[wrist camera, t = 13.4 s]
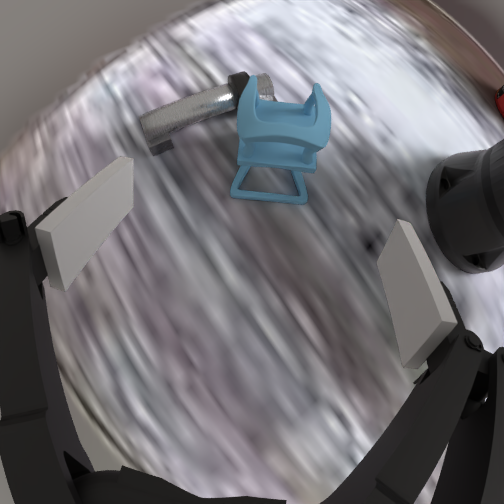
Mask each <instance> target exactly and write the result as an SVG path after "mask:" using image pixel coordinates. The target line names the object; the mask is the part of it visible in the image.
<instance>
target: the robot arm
mask: <svg viewBox="0 0 504 504" xmlns="http://www.w3.org/2000/svg"><path fill="white" fill-rule="evenodd" d="M133 162H134V158H127V157H121V156H120V157H119V158H117V159H116V160H115V161H113V162H112V163H111V164H109V165H108V166H107V167H105V168H104V169H103V170H101V171H100V172H99V173H98V174H96V175H95V176H94V177H93V178H91V179H90V180H89V181H88V182H86V183H85V184H84V185H83V186H81V187H80V188H79V189H78V190H77V191H75V192H74V193H73V194H72V195H71V196H69V197H65V198H63V199H61V200H59V201H57V202H55V203H54V204H53V205H52V206H51V207H49V209H47V210H46V211H45V212H44V213H43V215H40V216H39V217H38V218H37V219H36V220H35V221H34V222H33V223H32V224H31V225H30V226H29V227H27V226H26V222H25V217H24V214H23V213H22V212H21V211H16V210H15V211H9V212H6V213H4V214H2V215H0V408H1V416H2V417H1V420H0V456H1V460H2V463H3V467H4V471H5V475H6V478H7V482H8V485H9V488H10V491H11V494H12V497H13V500H14V503H15V504H286V500H277V499H267V498H258V497H250V496H241V497H226V498H201V497H198V496H195V495H193V494H191V493H189V492H187V491H185V490H183V489H181V488H179V487H177V486H175V485H173V484H171V483H169V482H168V481H166V480H164V479H162V478H159V477H156V476H153V475H149V474H146V473H143V472H140V471H137V470H134V469H131V468H128V467H125V466H122V467H121V470H120V471H116V470H115V471H114V470H105V471H97V472H95V471H94V468H93V466H92V464H91V462H90V460H89V458H88V456H87V454H86V452H85V450H84V449H83V447H82V445H81V443H80V441H79V438H78V435H77V432H76V430H75V426H74V424H73V420H72V417H71V414H70V411H69V408H68V404H67V401H66V397H65V394H64V390H63V386H62V383H61V379H60V375H59V370H58V366H57V362H56V357H55V352H54V348H53V343H52V337H51V332H50V326H49V320H48V313H47V306H46V299H45V290H44V286H43V283H42V281H43V280H44V279H45V278H46V276H48V279H49V282H50V286H51V287H53V288H56V289H59V290H61V291H64V292H66V291H67V289H68V288H69V287H70V285H71V284H72V282H73V281H74V280H75V278H76V277H77V276H78V274H79V273H80V272H81V270H82V269H83V268H84V266H85V265H86V264H87V263H88V261H89V260H90V259H91V257H92V256H93V255H94V254H95V252H96V251H97V250H98V249H99V247H100V246H101V245H102V244H103V242H104V241H105V240H106V239H107V237H108V236H109V235H110V234H111V233H112V231H113V230H114V229H115V228H116V227H117V225H118V224H119V223H120V222H121V221H122V220H123V218H124V217H125V216H126V215H127V214H128V213H129V211H130V210H131V209H132V208H133ZM426 205H427V214H428V219H429V223H430V226H431V229H432V232H433V235H434V237H435V239H436V241H437V243H438V245H439V247H440V249H441V250H442V252H443V253H444V254H445V256H446V257H447V258H448V259H449V260H450V261H451V262H452V263H453V264H454V265H455V266H456V267H458V268H459V269H461V270H463V271H465V272H468V273H484V272H490V271H493V270H495V269H497V268H499V267H501V266H502V265H503V264H504V139H503V140H502V141H500V142H498V143H497V144H496V145H494V146H493V147H491V148H489V149H487V150H479V151H471V152H463V153H457V154H454V155H452V156H450V157H448V158H447V159H446V160H444V161H443V162H441V163H440V164H439V165H438V166H437V167H436V168H435V169H434V171H433V172H432V174H431V176H430V179H429V182H428V186H427V193H426ZM377 266H378V269H379V273H380V276H381V280H382V283H383V287H384V290H385V294H386V298H387V302H388V306H389V309H390V313H391V317H392V322H393V326H394V330H395V334H396V339H397V343H398V348H399V353H400V357H401V362H402V367H403V368H413V369H418V368H419V367H420V366H421V365H422V364H423V363H424V362H425V361H426V360H427V364H428V369H427V370H426V371H425V372H424V373H423V374H422V375H421V376H420V377H419V378H418V379H417V380H416V381H415V382H414V384H416V383H417V384H416V386H415V387H414V389H413V390H412V392H411V394H410V395H409V397H408V398H407V400H406V401H405V403H404V404H403V406H402V407H401V409H400V410H399V412H398V413H397V415H396V416H395V417H394V419H393V420H392V422H391V423H390V425H389V426H388V427H387V429H386V430H385V431H384V433H383V434H382V435H381V437H380V438H379V439H378V441H377V442H376V443H375V445H374V446H373V447H372V448H371V450H370V451H369V452H368V453H367V455H366V456H365V457H364V458H363V460H362V461H361V462H360V463H359V464H358V465H357V467H356V468H355V469H354V470H353V471H352V472H351V474H350V475H349V476H348V477H347V478H346V479H345V480H344V481H343V483H342V484H341V485H340V486H339V487H338V488H337V489H336V490H335V491H334V492H333V493H332V494H331V495H330V496H329V497H328V498H327V499H325V500H324V501H323V502H321V503H320V504H414V502H415V500H416V499H417V497H418V495H419V494H420V492H421V491H422V489H423V487H424V486H425V484H426V482H427V481H428V479H429V477H430V476H431V474H432V472H433V470H434V469H435V467H436V465H437V463H438V461H439V459H440V458H441V456H442V454H443V452H444V450H445V448H446V446H447V444H448V447H447V451H446V455H445V459H444V462H443V466H442V470H441V473H440V476H439V480H438V483H437V486H436V489H435V492H434V495H433V498H432V501H431V504H504V347H499V348H498V349H497V351H496V352H495V353H494V354H492V353H490V352H488V351H486V350H484V348H483V344H482V342H481V340H480V339H479V337H478V336H477V335H476V334H475V333H473V332H472V331H470V330H466V329H465V326H464V324H463V321H462V319H461V316H460V314H459V311H458V309H457V308H456V304H455V302H454V301H453V298H452V295H451V293H450V291H449V290H448V288H447V287H446V286H445V285H444V283H443V282H441V281H439V279H438V276H437V274H436V272H435V270H434V268H433V266H432V264H431V262H430V260H429V258H428V256H427V254H426V252H425V250H424V248H423V246H422V244H421V242H420V240H419V238H418V236H417V234H416V232H415V231H414V229H413V227H412V225H411V223H409V222H406V221H403V220H399V219H397V221H396V223H395V226H394V228H393V230H392V232H391V234H390V236H389V238H388V240H387V242H386V244H385V246H384V248H383V250H382V252H381V254H380V256H379V258H378V260H377ZM485 398H487V399H486V401H485ZM448 442H449V443H448Z"/></svg>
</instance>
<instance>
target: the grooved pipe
mask: <svg viewBox="0 0 504 504" xmlns="http://www.w3.org/2000/svg"><path fill="white" fill-rule="evenodd" d="M255 76H256V77H257V90H258V93H259V99H262V100H268V101H275V102H278V101H277V100H276V98H275V96H274V88H273V84H272V81H271V79H270V77H269V76H268V75H267V74H266V73H263V74H259V75H255ZM249 78H250V77H249V75H248V74H247V73H246V72H244V71H243V72H240V73H236V74H233V75H229V76H228V83H227V84H224V85H221V86H218V87H215V88H212V89H209V90H206V91H203V92H200V93H197V94H194V95H191V96H188V97H186V98H183V99H180V100H177V101H175V102H172V103H170V104H167V105H165V106H162V107H160V108H157V109H155V110H152V111H150V112H147V113H145V114H143V115H140V116H139V119H140V122H141V125H142V128H143V131H144V134H145V138H146V141H147V144H148V147H149V149H150V151H151V153H152V154H153V156H155V155H157V154H159V153H162V152H164V151H167V150H169V149H172V148H174V146H173V143H172V141H171V138H170V135H169V133H171V132H173V131H176V130H178V129H181V128H183V127H186V126H189V125H191V124H194V123H197V122H199V121H202V120H205V119H208V118H210V117H213V116H216V115H219V114H222V113H225V112H228V111H231V110H234V109H237V110H238V105H239V100H240V97H241V94H242V92H243V90H244V89H245V87H246V85H247V84H248V81H249Z"/></svg>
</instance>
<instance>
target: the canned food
mask: <svg viewBox="0 0 504 504" xmlns="http://www.w3.org/2000/svg"><path fill="white" fill-rule="evenodd" d="M495 101H496V105H497V107H498V110H499V111H500V113H501V115H502V116H503V118H504V85H503V86H502V87H501V88H500V89H499V90H498V91H497V92H496V94H495Z"/></svg>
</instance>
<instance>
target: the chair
mask: <svg viewBox="0 0 504 504" xmlns="http://www.w3.org/2000/svg"><path fill="white" fill-rule="evenodd" d="M314 104H315V106H314ZM330 129H331V110H330V106H329V104H328V102H327V100H326V98H325V96H324V94H323V92H322V89H321V86H320V84H318V83H315V84H314V86H313V90H312V94H311V95H310V96H309V98H308V99H307V101H306V102H305V104H294V103H284V102H275V101H268V100H262V99H259V93H258V90H257V77H256V76H255V75H252V76H251V77H250V78H249V81H248V84H247V85H246V87H245V89H244V90H243V92H242V94H241V97H240V100H239V105H238V112H237V131H238V135H239V137H240V141H239V149H238V158H237V165H241V166H240V168H239V170H238V172H237V174H236V176H235V178H234V181H233V183H232V186H231V189H230V196H231V197H232V198H238V199H250V200H261V201H272V202H282V203H292V204H301V205H303V204H305V203H306V202H307V200H308V194H307V189H306V186H305V182H304V179H303V176H302V173H301V172H308V173H314V172H315V171H316V152H317V151H319V150H321V149H323V148H324V147H326V145H327V143H328V140H329V135H330ZM251 166H254V167H271V168H281V169H288V170H291V173H292V176H293V179H294V181H295V184H296V187H297V190H298V193H299V196H291V195H283V194H274V193H265V192H256V191H246V190H240V189H239V187H240V185H241V183H242V181H243V179H244V178H245V176H246V174H247V172H248V170H249V168H250V167H251Z"/></svg>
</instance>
